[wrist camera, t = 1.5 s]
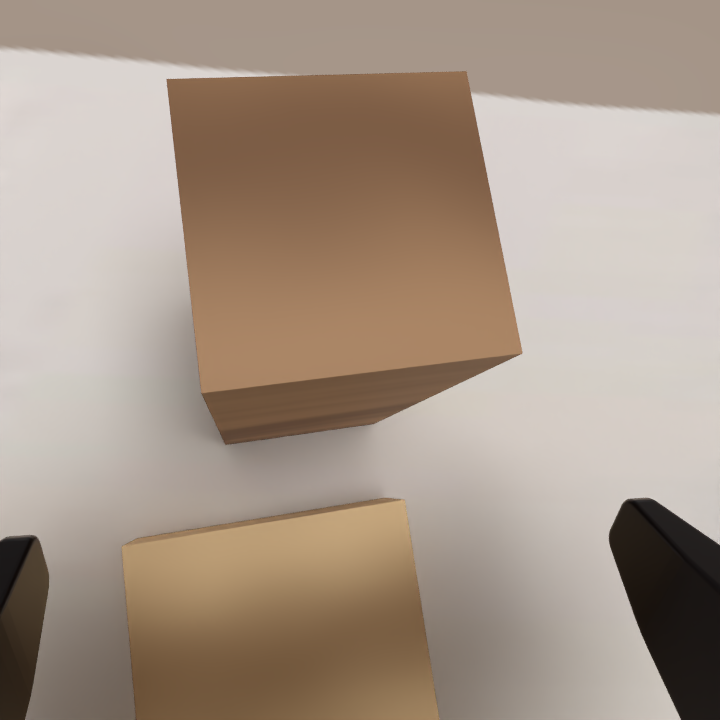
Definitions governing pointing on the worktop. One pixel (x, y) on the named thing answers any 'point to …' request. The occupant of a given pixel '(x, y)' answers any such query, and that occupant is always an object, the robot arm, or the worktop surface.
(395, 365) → the walnut block
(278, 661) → the oak block
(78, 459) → the worktop surface
